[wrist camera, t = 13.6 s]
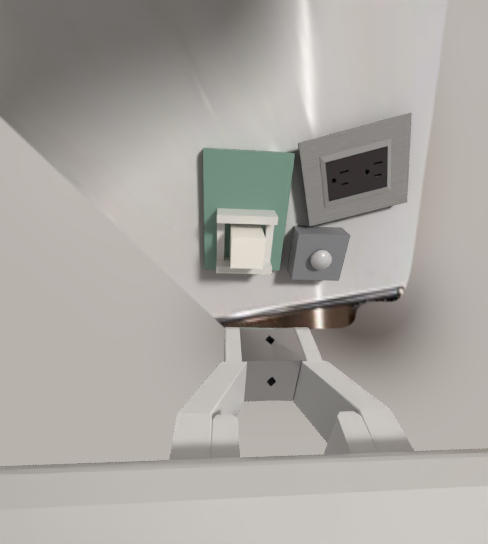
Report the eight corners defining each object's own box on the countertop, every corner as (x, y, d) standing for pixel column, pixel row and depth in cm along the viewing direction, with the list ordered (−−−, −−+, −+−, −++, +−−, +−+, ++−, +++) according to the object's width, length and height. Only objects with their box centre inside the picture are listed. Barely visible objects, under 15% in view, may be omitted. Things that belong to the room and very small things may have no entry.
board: (203, 147, 33) (201, 150, 30) (292, 152, 34) (301, 156, 30) (205, 265, 41) (203, 279, 37) (278, 266, 42) (283, 280, 38)
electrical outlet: (305, 221, 39) (310, 227, 37) (294, 142, 34) (299, 143, 32) (398, 198, 38) (408, 202, 36) (401, 113, 33) (413, 112, 31)
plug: (230, 223, 36) (231, 237, 32) (260, 224, 36) (265, 238, 32) (229, 255, 38) (230, 272, 34) (258, 255, 39) (262, 272, 34)
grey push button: (293, 226, 39) (300, 235, 35) (341, 227, 39) (352, 237, 36) (287, 269, 42) (292, 282, 39) (331, 270, 43) (340, 283, 39)
